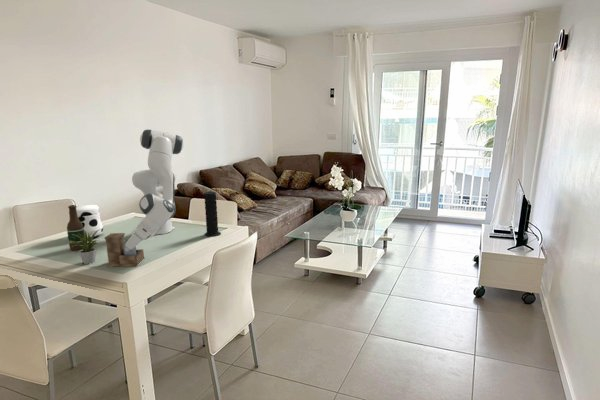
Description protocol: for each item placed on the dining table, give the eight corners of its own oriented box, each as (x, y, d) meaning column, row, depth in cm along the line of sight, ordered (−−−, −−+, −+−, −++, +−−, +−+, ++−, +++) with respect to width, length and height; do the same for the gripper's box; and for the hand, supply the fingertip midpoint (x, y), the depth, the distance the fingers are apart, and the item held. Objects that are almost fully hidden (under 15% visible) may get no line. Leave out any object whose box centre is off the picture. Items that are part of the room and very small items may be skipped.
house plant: (93, 254, 197) (89, 224, 194) (112, 258, 192) (109, 226, 189) (67, 264, 184) (62, 231, 181) (87, 268, 179) (83, 234, 176)
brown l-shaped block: (144, 258, 191) (141, 231, 188) (137, 266, 181) (134, 237, 178) (115, 259, 190) (112, 232, 187) (106, 266, 180) (102, 238, 178)
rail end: (136, 255, 187) (135, 239, 186) (133, 258, 183) (132, 242, 182) (128, 255, 187) (126, 240, 185) (125, 258, 183) (123, 242, 181)
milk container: (104, 231, 240) (100, 203, 236) (103, 238, 224) (99, 209, 221) (72, 235, 232) (68, 206, 229) (69, 243, 217) (65, 212, 213)
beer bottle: (89, 247, 210) (83, 204, 205) (77, 251, 202) (71, 207, 198) (78, 245, 212) (73, 203, 207) (66, 250, 205) (60, 206, 200)
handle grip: (218, 236, 225) (223, 232, 234) (215, 192, 219) (220, 189, 229) (201, 236, 226) (207, 231, 235) (198, 192, 220) (204, 189, 230)
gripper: (149, 218, 192) (131, 237, 194) (134, 229, 172) (114, 251, 174) (159, 226, 193) (141, 245, 195) (145, 239, 173) (125, 260, 175)
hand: (128, 248), depth 184 cm, fingers closed on rail end, 4 cm apart
